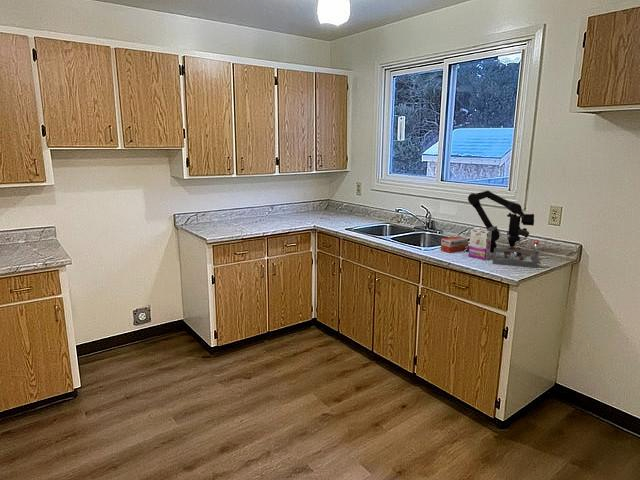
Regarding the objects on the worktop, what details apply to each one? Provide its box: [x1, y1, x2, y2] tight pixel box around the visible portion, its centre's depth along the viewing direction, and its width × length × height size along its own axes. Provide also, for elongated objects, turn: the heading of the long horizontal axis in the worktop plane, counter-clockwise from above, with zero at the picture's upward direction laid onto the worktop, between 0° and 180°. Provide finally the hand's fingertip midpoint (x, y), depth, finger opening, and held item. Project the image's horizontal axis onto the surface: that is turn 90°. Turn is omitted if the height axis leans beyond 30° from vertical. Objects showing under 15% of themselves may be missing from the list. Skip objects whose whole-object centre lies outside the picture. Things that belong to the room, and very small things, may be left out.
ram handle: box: [530, 239, 540, 258], centre depth 244 cm, size 3×3×10 cm
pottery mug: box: [503, 245, 523, 261], centre depth 247 cm, size 12×10×8 cm
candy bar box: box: [468, 228, 492, 261], centre depth 246 cm, size 11×5×16 cm, turn 40°
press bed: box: [492, 247, 539, 269], centre depth 233 cm, size 22×6×9 cm, turn 69°
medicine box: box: [440, 235, 469, 254], centre depth 264 cm, size 15×8×8 cm, turn 117°
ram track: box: [529, 255, 541, 264], centre depth 243 cm, size 4×14×1 cm, turn 159°
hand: (511, 249), depth 257 cm, fingers closed
